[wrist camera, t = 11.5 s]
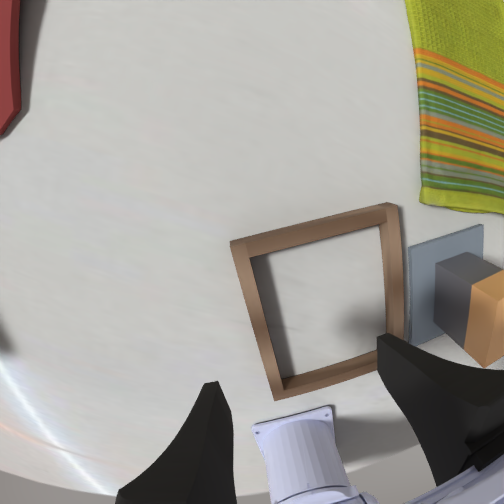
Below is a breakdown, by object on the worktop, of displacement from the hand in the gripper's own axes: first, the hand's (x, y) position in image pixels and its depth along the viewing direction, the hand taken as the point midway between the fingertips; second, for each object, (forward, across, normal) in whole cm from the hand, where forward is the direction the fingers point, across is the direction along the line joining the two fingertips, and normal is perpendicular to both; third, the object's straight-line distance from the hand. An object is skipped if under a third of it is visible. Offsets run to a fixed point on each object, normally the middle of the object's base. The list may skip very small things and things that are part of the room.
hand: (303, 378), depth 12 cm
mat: (+10, -16, +5) cm, 20 cm away
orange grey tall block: (+10, -16, +5) cm, 19 cm away
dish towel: (+11, -24, -19) cm, 32 cm away
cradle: (+10, -4, +3) cm, 12 cm away
